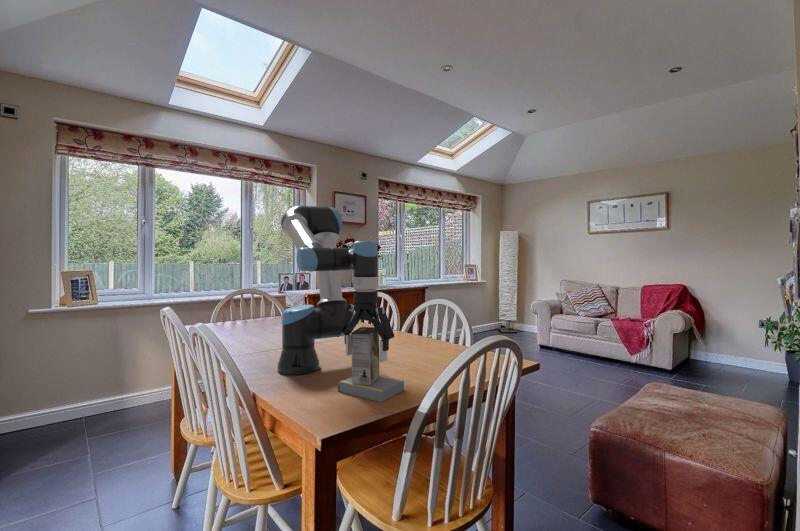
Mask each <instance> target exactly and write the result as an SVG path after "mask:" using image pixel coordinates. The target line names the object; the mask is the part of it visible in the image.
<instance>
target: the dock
mask: <svg viewBox="0 0 800 531" xmlns="http://www.w3.org/2000/svg"><path fill="white" fill-rule="evenodd" d="M337 391H338V392H341V393H345V394H348V395H352V396H356V397H358V398H363V399H367V400H371V401H375V402H379V403H383V402H385V401H386V400H389V399H390V398H393V397H394V396H396V395H398V394H399V393H401V392H403V391H405V381H404V380H403V379H399V378H394V377H389V376H387V375H386V376H385V375H381V374H380V376H379V377H378V378H377V379H376V380H375V381H374V382H373V384H372V385H361V384H352V376H351V377H349V378H345V379H344V380H341V381H339V382H337Z"/></svg>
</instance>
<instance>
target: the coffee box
mask: <svg viewBox="0 0 800 531" xmlns="http://www.w3.org/2000/svg"><path fill="white" fill-rule="evenodd" d="M351 334H352V355H351V377H352V384H361V385H372V384H373V382H374V381H375V380H376V379H377V378H378V377H379V376H380V375H381V374H380V335H379V334H378V332H377V331H376V329H375V327H374V326H373V327H370V326H360V327H358V328H357V329H355V330H353V331H352V332H351Z"/></svg>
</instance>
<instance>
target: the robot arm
mask: <svg viewBox="0 0 800 531" xmlns="http://www.w3.org/2000/svg"><path fill="white" fill-rule="evenodd" d="M280 221H281V222H280V225H281V229H282V231H283V233H284V234H285V235H286V236H287V237H289V238H290V240H291V242H292V243H293V245H294V247H295V248H296V250H297V251H296V252H297V253H296V264H297V268H298V270H299V271H302V272H309V273H311V272H317V280H318V287H319V289H318V290H319V298H320V300H319V301H318V302H317V304H316V306H317V307H316V308H315V306H314V304H300V305H294V306H291V307H288V308H286V309H285V310H283V312H282V314H281V315H282V317H281V336H282V337H281V339H282V340H281V341H282V343H281V344H282V345H281V349H282V350H281V352H280V356H279V359H278V362H277V372H278V373H280V374H283V375H291V376H292V375H294V376H296V375H305V374H309V373H311V374H312V373H313V372H316V371H318V370H319V369H320V359H319V358H318V353H317V351H316V348H315V340H321V339H328V338H329V339H330V338H340V337H344V345H345V356H347V357H349V356H352V332H353V331H354V329H355V328H356V326H358V324H359V322H360V321H363V320H364V321H366V322H367V321H368V322H369V323H371V324H372V326H373V327H375V329H376V331H377V332H378V334H379V338H380V339H379V363H383V362H386V361H387V360H388V351H389V349H390V343H389V342H390V340H391V339H394V338H395V337H396V336H395V332H394V330H393V328H392V325H391V323H390V320H389V318H388V316H387V308H386V307H385V306H381V307H378V306H377V304H378V302H379V301H378V298H379V296H378V295H379V294H378V291H377V290H378V289H379V280H378V278H379V277H378V272H379V271H378V270H379V269H378V268H379V267H378V266H379V265H378V264H379V263H378V262H379V261H378V260H379V259H378V258H379V257H378V255H379V252H378V243H377V241H374V240H356V241H354V242H353V246H352V247H337V240H338V239H339V238H340V235H341V234H342V232H343V227H344V226H343V224H344V223H343V218H342V215H341V212H340V211H339V210H338V208H336V207H330V206H314V205H296V206H293V207H292V208H289V209H288V210H286V211H285V213H284V214H283V215H282V217H281V220H280ZM341 271H353V289H354V291H353V303H350V304H348V303H347V299H345V298H343V292H342V284H341V283H342V282H341V276H340V272H341Z"/></svg>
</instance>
